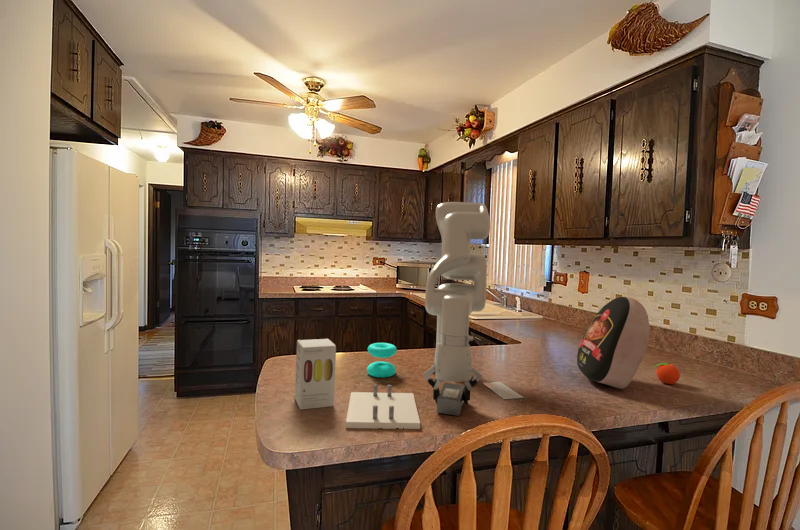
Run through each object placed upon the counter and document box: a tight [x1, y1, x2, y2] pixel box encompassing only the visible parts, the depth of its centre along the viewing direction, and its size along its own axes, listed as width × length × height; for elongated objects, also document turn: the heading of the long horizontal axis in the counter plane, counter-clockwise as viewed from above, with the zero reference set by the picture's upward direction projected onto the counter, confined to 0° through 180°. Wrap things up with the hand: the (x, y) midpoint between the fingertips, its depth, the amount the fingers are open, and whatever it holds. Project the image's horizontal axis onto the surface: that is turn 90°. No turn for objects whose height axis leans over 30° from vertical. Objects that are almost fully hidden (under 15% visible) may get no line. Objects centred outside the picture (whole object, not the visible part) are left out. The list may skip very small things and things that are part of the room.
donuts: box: [366, 342, 398, 379], centre depth 141 cm, size 10×10×10 cm
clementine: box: [653, 362, 681, 385], centre depth 143 cm, size 8×7×7 cm
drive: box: [436, 382, 465, 417], centre depth 114 cm, size 12×6×4 cm, turn 165°
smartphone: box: [490, 381, 525, 401], centre depth 129 cm, size 7×1×15 cm
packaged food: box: [576, 296, 651, 390], centre depth 140 cm, size 22×20×30 cm
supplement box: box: [294, 338, 337, 410], centre depth 114 cm, size 10×9×17 cm
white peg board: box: [345, 383, 421, 430], centre depth 109 cm, size 20×18×4 cm
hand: (451, 401), depth 114 cm, fingers closed on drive, 7 cm apart
